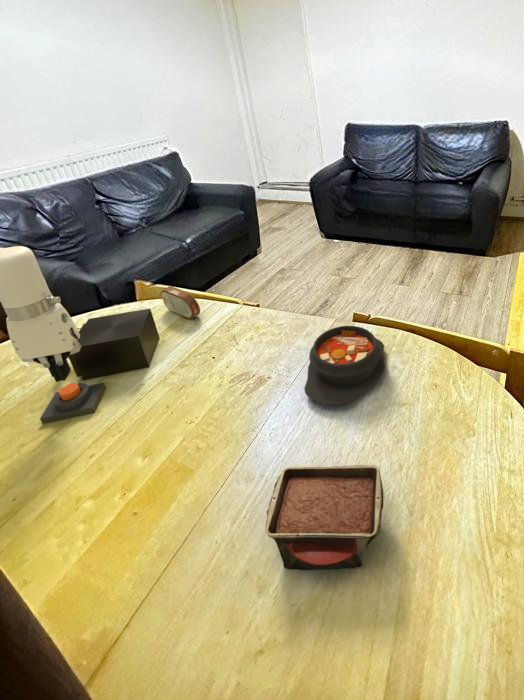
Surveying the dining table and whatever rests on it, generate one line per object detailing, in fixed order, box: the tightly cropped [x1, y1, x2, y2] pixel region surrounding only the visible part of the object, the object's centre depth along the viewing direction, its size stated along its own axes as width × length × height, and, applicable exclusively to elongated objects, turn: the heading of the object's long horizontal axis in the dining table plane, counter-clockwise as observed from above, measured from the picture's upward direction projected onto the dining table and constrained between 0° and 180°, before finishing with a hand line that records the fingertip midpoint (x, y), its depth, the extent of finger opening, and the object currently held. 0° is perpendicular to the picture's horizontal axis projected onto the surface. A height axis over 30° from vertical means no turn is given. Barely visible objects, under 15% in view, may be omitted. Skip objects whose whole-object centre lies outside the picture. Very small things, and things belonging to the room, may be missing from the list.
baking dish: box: [264, 464, 384, 571], centre depth 65 cm, size 14×18×10 cm
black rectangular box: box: [72, 308, 160, 382], centre depth 106 cm, size 15×13×10 cm
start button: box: [58, 382, 81, 401], centre depth 92 cm, size 4×4×2 cm
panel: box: [39, 382, 107, 425], centre depth 93 cm, size 10×8×4 cm
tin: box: [160, 285, 201, 320], centre depth 124 cm, size 15×3×8 cm, turn 59°
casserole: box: [303, 325, 386, 406], centre depth 98 cm, size 25×19×8 cm
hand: (63, 376), depth 91 cm, fingers closed
